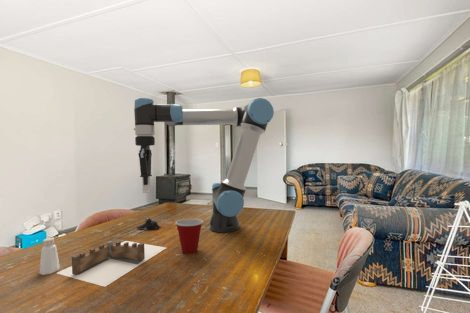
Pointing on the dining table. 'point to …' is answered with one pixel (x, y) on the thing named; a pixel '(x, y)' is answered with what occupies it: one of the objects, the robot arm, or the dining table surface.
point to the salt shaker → (49, 257)
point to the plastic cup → (189, 234)
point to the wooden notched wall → (126, 250)
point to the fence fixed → (88, 259)
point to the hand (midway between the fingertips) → (146, 192)
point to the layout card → (111, 267)
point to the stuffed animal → (148, 225)
